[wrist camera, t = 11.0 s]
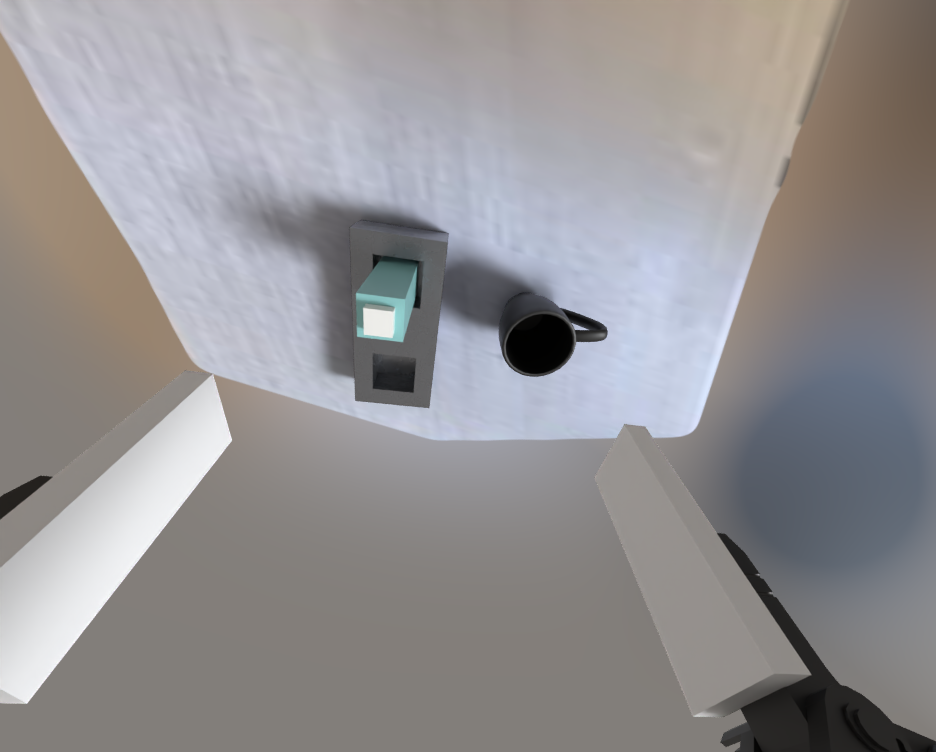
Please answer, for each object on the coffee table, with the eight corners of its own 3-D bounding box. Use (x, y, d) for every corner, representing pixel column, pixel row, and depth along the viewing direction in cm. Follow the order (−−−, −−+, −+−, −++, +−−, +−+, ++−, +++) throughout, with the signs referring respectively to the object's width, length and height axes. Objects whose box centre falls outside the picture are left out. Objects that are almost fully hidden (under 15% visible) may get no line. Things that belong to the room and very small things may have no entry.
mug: (579, 336, 48) (605, 372, 40) (494, 342, 48) (502, 379, 40) (587, 277, 43) (617, 305, 35) (492, 284, 43) (501, 313, 35)
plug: (385, 252, 40) (352, 297, 27) (419, 257, 40) (403, 303, 28) (384, 286, 42) (354, 341, 29) (417, 290, 42) (401, 347, 30)
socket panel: (360, 219, 39) (349, 227, 34) (448, 233, 40) (447, 242, 36) (363, 380, 50) (355, 400, 46) (431, 387, 51) (429, 408, 47)
